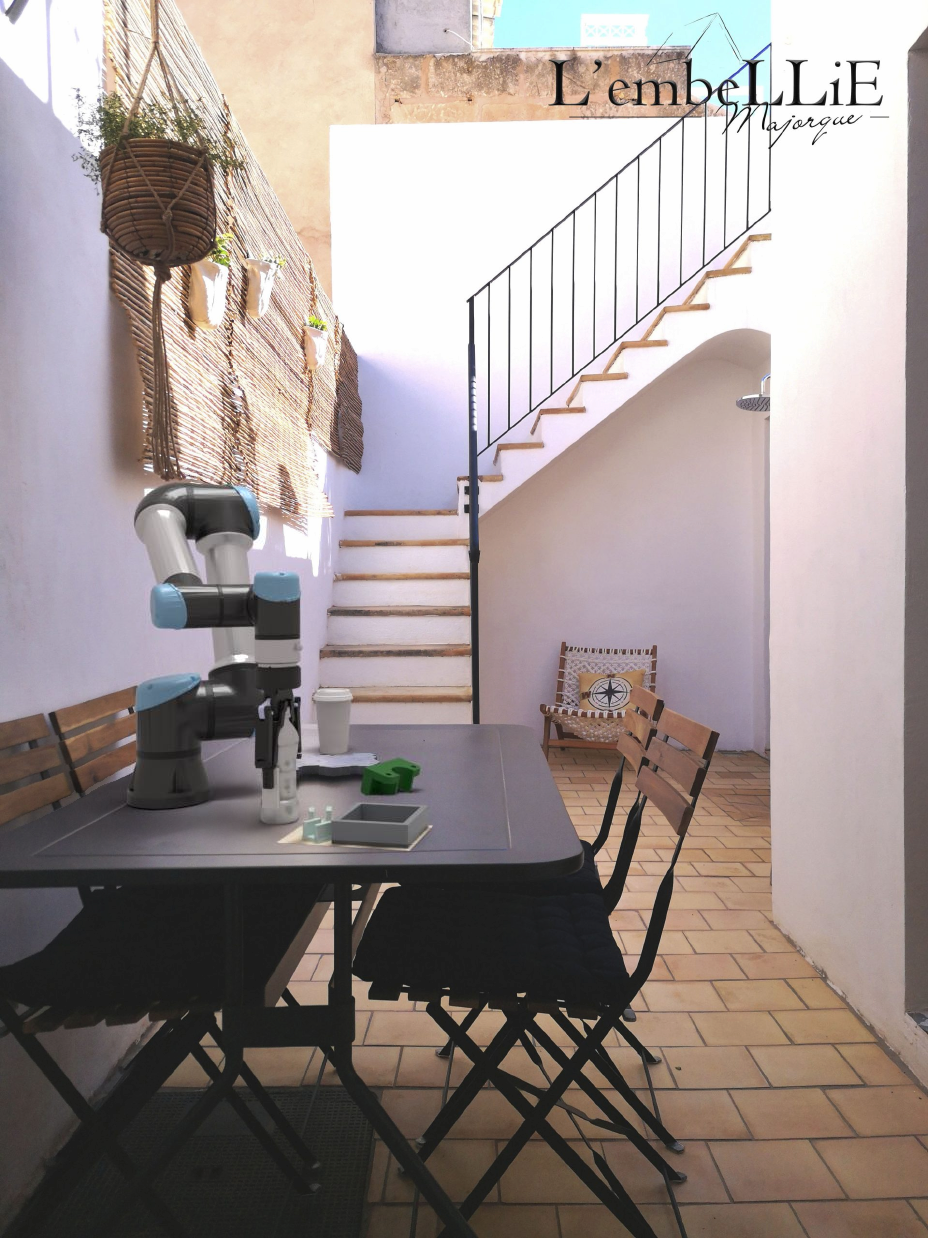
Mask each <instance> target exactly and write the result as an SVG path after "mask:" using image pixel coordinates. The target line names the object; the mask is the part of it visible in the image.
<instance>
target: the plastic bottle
mask: <svg viewBox="0 0 928 1238" xmlns="http://www.w3.org/2000/svg"><path fill="white" fill-rule="evenodd" d="M290 717H291V714H290V706H289V707H287V711H286V713H285V721H284V726H283V727H282V728H281V729H280V732H279V737H278V756H277V765H276V768H279V795H280V808H278V809H275V808H262V798H261V800H260V806H259V816H260V820H261V822H262V823H264V824H267V825H277V826H278V825H288V824H293V823H295V822H296V821H298V819H299V815H300V811H301V810H300V804H299V798H298V792H297V790H298V789H297V759H296V758H297V751H298V743H299V736H298V733H297V731H296V729H295V728H294V726H293V725H292V724H291V723H290V721H289V718H290ZM273 722H277V721H273ZM295 769H296V771H295ZM295 777H296V778H295Z"/></svg>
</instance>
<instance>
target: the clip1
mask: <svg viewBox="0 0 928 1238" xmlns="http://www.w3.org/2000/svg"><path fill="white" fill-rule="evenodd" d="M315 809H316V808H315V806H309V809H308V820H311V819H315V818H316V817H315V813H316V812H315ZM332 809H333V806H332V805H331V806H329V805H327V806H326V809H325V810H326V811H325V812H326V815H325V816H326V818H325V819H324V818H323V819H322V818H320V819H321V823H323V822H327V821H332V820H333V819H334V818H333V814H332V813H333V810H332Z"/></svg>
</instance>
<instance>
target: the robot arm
mask: <svg viewBox="0 0 928 1238" xmlns="http://www.w3.org/2000/svg"><path fill="white" fill-rule="evenodd" d="M134 511H135V512H134V514H133V525H134V530H135V533H136V536H137V537H138V539H139V540H140V542H141V543H142V544H144V545H145V548H146V552H147V554H148V555H147V556H148V559H149V561H150V564H151V565H150V566H151V569H152V572H153V575H154V579H155V582H156V585H153V587H152V588H151V591H150V597H149V599H150V600H149V604H150V605H149V607H150V609H149V610H150V617H151V623H152V625H153V626H154V627H155V628H157V629H164V630H165V629H166V630H170V629H171V630H176V631H178V630H189V629H190V630H191V629H192V630H193V629H211V637H212V646H213V647H212V648H213V657H214V658H213V659H214V665H213V666H212V667H211V668H210V670H209V671H207V678H208V679H203V680H202V677H201V675H200V674H199V673H198V672H188V673H187V672H186V673H178V674H177V673H176V674H170V675H164V676H158V677H155V678H151V679H147V680H145V681H142V682H141V683H139V684H138V686H137V687H136V689H135V701H134V702H135V703H134V707H133V709H134V711H135V752H136V753H135V754H136V758H135V759H136V760H135V765H134V767H133V770H132V774H131V777H130V780H129V784H128V787H127V789H126V790H127V792H126V803H127V805H129V806H130V807H132V808H133V807H134V808H137V809H138V808H139V809H150V810H152V809H153V810H155V809H156V810H157V809H158V810H159V809H175V808H183V807H189V806H194V805H198V804H202V803H204V802H207V801H209V800H210V799H211V798H212V795H213V793H212V789H213V787H212V783H211V779H210V777H209V775H208V772H207V768H206V766H205V763H204V761H203V757H202V743H203V742H210V741H211V742H212V741H223V740H225V741H226V740H237V739H253V738H254V766H255V767H254V768H255V769H260V770H261V796H262V797H261V799H262V808H275V809H278V808H280V795H279V768H276V765H277V756H278V737H279V732H280V729H281V728H282V727H283V726H284V721H285V713H286V711H287V707H289V706H290V714H291V717H290V718H289V721H290V723H291V724H292V725H293V726H294V728H295V729H296V731H297V733H298V736H299V743H298V751H297V758H296V760H302V755H303V754H302V751H303V750H302V726H301V725H302V724H301V721H302V720H301V706H302V705H301V704H302V697H301V696H294V692H293V691H294V690H297V689H299V688H301V686H302V667H301V666H300V665H298V663H299V662H301V660H302V659H301V658H302V657H301V651H303V648H304V646H303V645H302V644H301V597H302V590H301V584H300V583H301V582H300V576H299V575H298V573H296V572H293V571H259V572H257V573H255V574H254V577H253V583H251V575H250V566H249V559H248V557H249V556H248V552H249V551H251V550H252V548H253V547H254V541H256V540H258V538H259V536H260V531H261V523H260V522H261V521H260V520H261V517H260V516H261V515H260V510H259V505H258V501H257V499H256V496H255V495H254V493H253V492H252V490H250V489H249V488H248V487H246V486H243V485H233V484H230V483H225V484H212V483H211V484H210V483H193V482H189V483H188V482H170V483H166V484H162V485H159V486H157V487H156V488H154V489H152V490H151V491H150V492H148V493H147V494H146V495H145V496H144V497H142V499H141V500H140V502H139V503H138V505H137V506H136V508H135V510H134ZM188 540H189V541H194V543H195V544H194V545H195V550H196V551H197V552H198V553H199V554H201V555H202V556H203V557H204V566H205V577H206V583H204V581H203V579H202V576H201V574H200V571H199V568H198V565H197V563H196V559H195V557H194V555H193V553H192V549H191V546H190V544H189V541H188ZM273 721H277V722H273ZM295 771H296V772H297V768H296V769H295ZM295 778H296V779H297V776H296V777H295Z"/></svg>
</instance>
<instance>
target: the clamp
mask: <svg viewBox="0 0 928 1238" xmlns="http://www.w3.org/2000/svg"><path fill="white" fill-rule="evenodd" d="M421 768H422V767H421V766H420V765H418V764H415V763H413V762H410V761H408V760H406V759H404V758H401V757H395V758H393V759H390V760H386V761H381V762H380V763H376V764H371V765H369V766H364V770H363V775H362V781H361V786H360V793H361V794H363V795H364V796H379V795H382V794H383V795H385V796H389V795H390V796H391V795H398V794H397V792H398V790H401V791H405V792H406V793H412V789H413V783H414V778H415V777H418V776H420V773H421Z"/></svg>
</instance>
